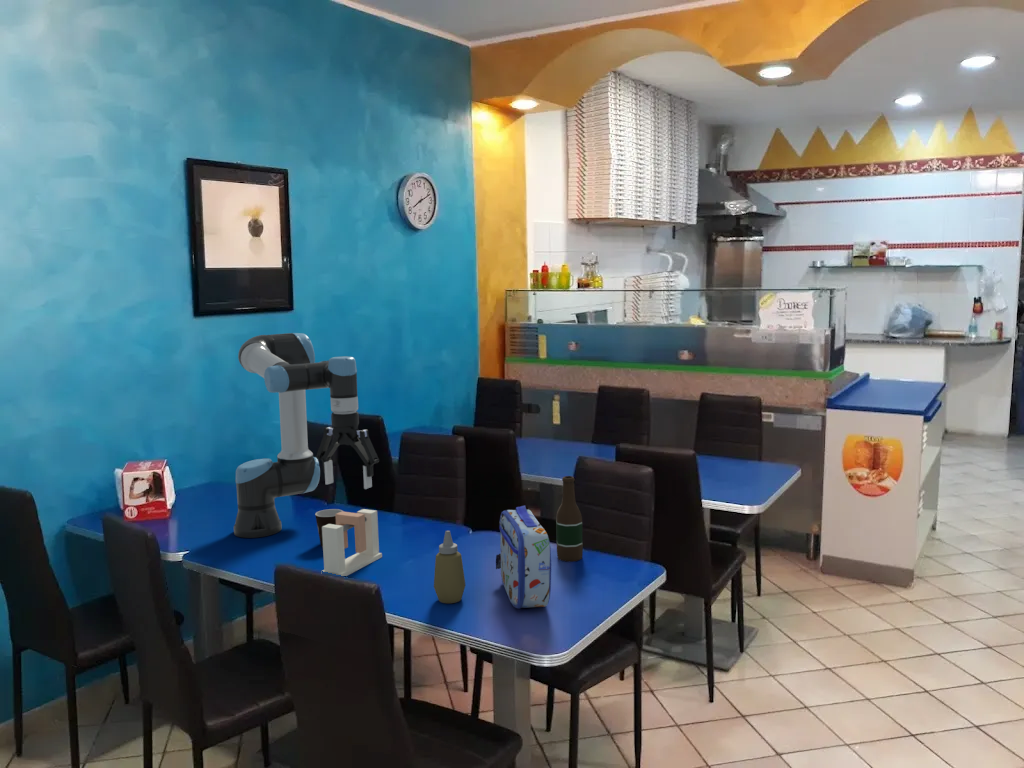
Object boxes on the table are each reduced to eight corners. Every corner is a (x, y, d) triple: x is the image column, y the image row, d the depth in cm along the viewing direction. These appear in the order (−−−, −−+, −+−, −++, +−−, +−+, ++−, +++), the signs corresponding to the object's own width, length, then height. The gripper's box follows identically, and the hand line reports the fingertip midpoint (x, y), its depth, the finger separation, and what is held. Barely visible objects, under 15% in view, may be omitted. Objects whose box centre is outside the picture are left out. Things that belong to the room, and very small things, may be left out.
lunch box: (493, 578, 226) (491, 500, 223) (530, 575, 228) (529, 497, 225) (515, 618, 199) (513, 529, 196) (557, 614, 201) (555, 525, 198)
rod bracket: (321, 574, 232) (318, 526, 230) (362, 554, 249) (360, 508, 247) (341, 578, 229) (339, 529, 227) (382, 557, 246) (379, 511, 244)
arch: (337, 549, 239) (335, 514, 237) (343, 546, 241) (341, 511, 240) (360, 553, 235) (358, 516, 234) (366, 549, 238) (364, 514, 236)
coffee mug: (338, 549, 254) (336, 517, 253) (312, 547, 256) (310, 516, 254) (353, 537, 265) (351, 506, 264) (328, 536, 267) (326, 506, 266)
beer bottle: (586, 554, 243) (584, 474, 240) (579, 563, 236) (578, 480, 233) (560, 552, 246) (559, 473, 243) (553, 560, 239) (551, 479, 236)
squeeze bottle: (434, 594, 215) (431, 527, 213) (465, 592, 216) (463, 525, 214) (434, 606, 207) (431, 537, 205) (466, 605, 208) (464, 535, 206)
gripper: (301, 411, 235) (305, 484, 238) (373, 416, 224) (376, 492, 227) (318, 407, 242) (322, 478, 245) (389, 412, 231) (392, 486, 234)
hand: (348, 485), depth 236 cm, fingers open, 13 cm apart
